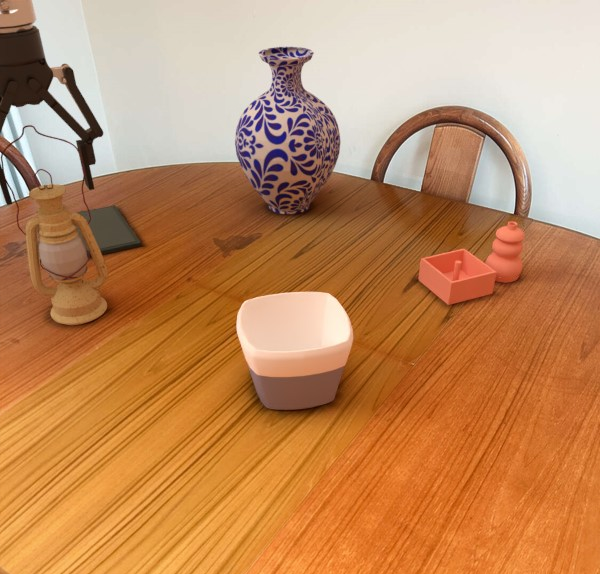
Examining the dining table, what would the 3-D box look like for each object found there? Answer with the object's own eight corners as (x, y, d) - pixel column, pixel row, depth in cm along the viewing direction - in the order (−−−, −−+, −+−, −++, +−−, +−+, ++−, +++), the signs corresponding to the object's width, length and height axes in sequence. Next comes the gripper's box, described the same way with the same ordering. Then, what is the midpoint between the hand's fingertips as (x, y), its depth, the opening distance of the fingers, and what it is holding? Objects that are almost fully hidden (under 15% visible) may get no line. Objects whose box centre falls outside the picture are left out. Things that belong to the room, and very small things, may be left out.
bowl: (335, 349, 101) (338, 285, 94) (359, 413, 89) (364, 346, 82) (236, 360, 99) (230, 295, 92) (247, 427, 87) (242, 359, 80)
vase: (219, 204, 143) (205, 52, 124) (292, 178, 154) (290, 35, 135) (284, 236, 131) (281, 73, 112) (358, 206, 142) (367, 53, 123)
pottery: (448, 305, 111) (456, 251, 104) (418, 279, 117) (424, 228, 111) (533, 282, 116) (546, 231, 110) (500, 259, 123) (510, 209, 117)
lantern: (113, 289, 115) (72, 109, 96) (118, 318, 108) (75, 130, 88) (42, 300, 112) (-15, 118, 93) (42, 331, 105) (-19, 141, 86)
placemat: (58, 264, 123) (57, 259, 122) (39, 223, 136) (38, 219, 136) (141, 246, 128) (141, 241, 127) (115, 208, 142) (114, 204, 141)
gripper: (-94, 42, 77) (-32, 218, 91) (106, 23, 85) (134, 188, 99) (-96, 30, 82) (-38, 199, 96) (92, 13, 90) (121, 171, 104)
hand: (50, 193), depth 97 cm, fingers closed on lantern, 11 cm apart
